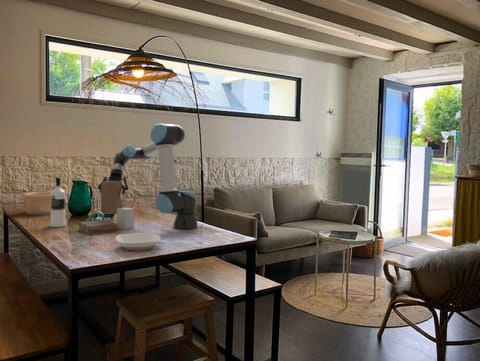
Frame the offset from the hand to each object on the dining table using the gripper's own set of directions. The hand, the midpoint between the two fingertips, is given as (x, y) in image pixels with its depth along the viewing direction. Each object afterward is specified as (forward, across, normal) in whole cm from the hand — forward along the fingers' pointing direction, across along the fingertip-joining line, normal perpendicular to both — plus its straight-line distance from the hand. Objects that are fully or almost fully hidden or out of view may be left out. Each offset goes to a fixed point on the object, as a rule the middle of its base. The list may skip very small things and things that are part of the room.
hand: (110, 197), depth 261 cm
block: (+5, 0, -9) cm, 10 cm away
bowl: (+53, -28, +26) cm, 66 cm away
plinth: (+25, +3, -1) cm, 25 cm away
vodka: (+17, +30, -8) cm, 35 cm away
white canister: (+18, -11, -8) cm, 22 cm away
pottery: (-16, +60, -39) cm, 74 cm away
